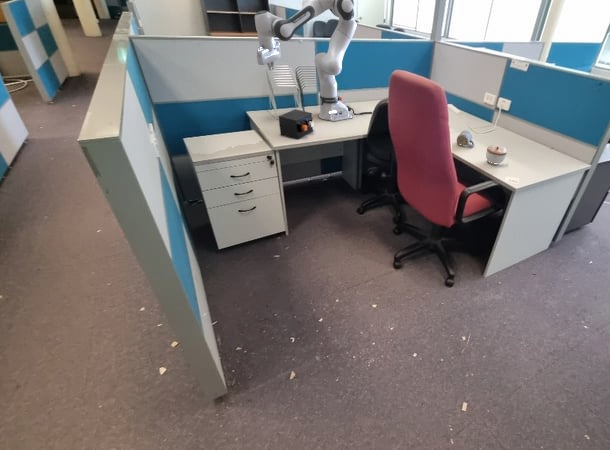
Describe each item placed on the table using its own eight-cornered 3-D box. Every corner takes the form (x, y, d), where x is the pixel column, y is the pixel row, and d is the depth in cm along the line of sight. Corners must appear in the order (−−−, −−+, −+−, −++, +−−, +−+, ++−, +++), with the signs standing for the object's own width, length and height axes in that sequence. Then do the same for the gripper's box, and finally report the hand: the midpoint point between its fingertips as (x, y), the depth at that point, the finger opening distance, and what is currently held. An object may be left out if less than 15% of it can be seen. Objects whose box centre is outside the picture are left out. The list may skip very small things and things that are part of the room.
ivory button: (311, 125, 199) (311, 120, 197) (314, 126, 199) (313, 121, 197) (308, 127, 197) (308, 122, 195) (311, 127, 196) (310, 122, 194)
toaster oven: (298, 126, 210) (297, 108, 203) (316, 130, 206) (315, 112, 199) (280, 135, 196) (278, 116, 189) (299, 139, 192) (297, 120, 185)
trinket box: (485, 156, 190) (489, 141, 184) (504, 161, 187) (509, 145, 181) (482, 164, 182) (486, 148, 176) (502, 168, 179) (507, 152, 173)
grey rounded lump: (454, 145, 201) (457, 132, 196) (459, 140, 207) (461, 129, 202) (471, 149, 197) (474, 137, 193) (475, 145, 203) (478, 133, 199)
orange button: (304, 129, 194) (304, 123, 192) (307, 129, 194) (307, 124, 192) (301, 130, 192) (301, 125, 190) (304, 131, 191) (304, 126, 189)
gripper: (261, 48, 182) (266, 74, 191) (280, 41, 197) (284, 66, 206) (251, 47, 183) (257, 73, 192) (271, 40, 199) (275, 65, 207)
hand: (271, 69), depth 199 cm, fingers closed
